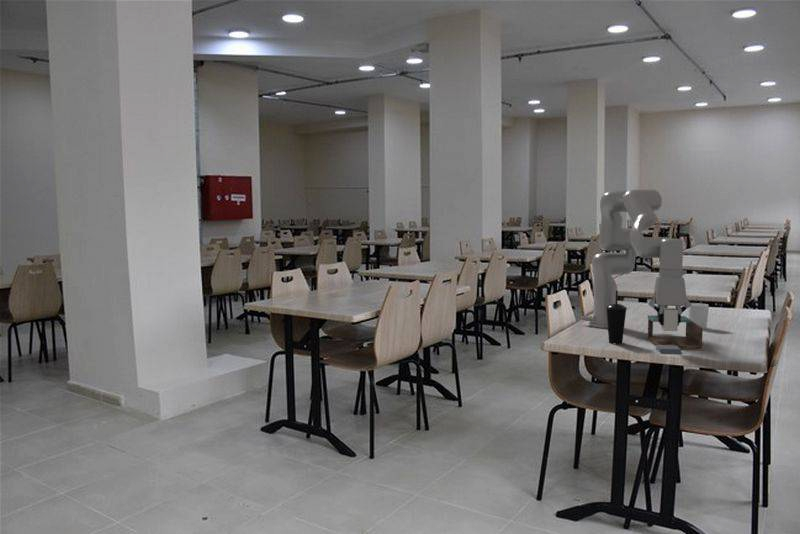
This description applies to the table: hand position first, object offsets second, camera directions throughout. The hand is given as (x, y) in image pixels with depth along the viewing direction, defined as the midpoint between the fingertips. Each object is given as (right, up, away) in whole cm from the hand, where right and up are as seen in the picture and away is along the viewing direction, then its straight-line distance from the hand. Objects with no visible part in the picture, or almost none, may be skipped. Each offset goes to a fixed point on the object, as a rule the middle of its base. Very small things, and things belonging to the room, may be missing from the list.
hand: (669, 324), depth 235 cm
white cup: (+30, -6, +45) cm, 54 cm away
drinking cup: (-14, -9, +16) cm, 23 cm away
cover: (+7, 0, +18) cm, 20 cm away
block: (0, -2, 0) cm, 2 cm away
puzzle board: (+7, -8, +14) cm, 18 cm away
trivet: (0, -10, +1) cm, 10 cm away
